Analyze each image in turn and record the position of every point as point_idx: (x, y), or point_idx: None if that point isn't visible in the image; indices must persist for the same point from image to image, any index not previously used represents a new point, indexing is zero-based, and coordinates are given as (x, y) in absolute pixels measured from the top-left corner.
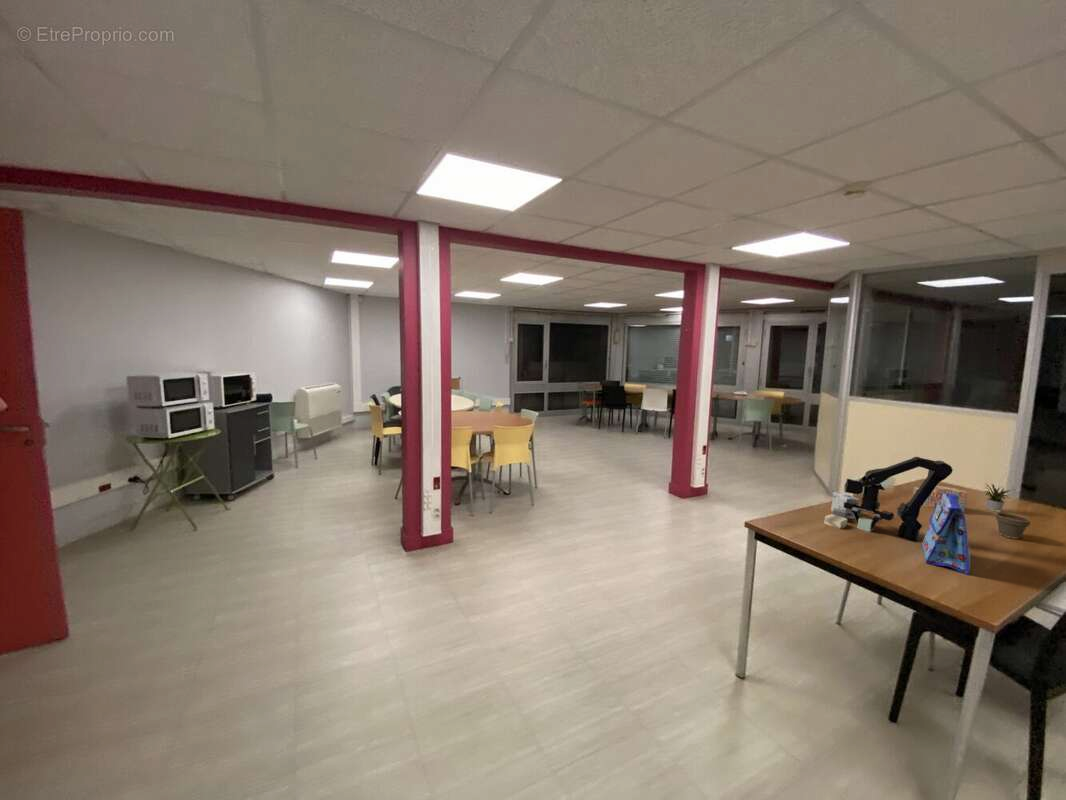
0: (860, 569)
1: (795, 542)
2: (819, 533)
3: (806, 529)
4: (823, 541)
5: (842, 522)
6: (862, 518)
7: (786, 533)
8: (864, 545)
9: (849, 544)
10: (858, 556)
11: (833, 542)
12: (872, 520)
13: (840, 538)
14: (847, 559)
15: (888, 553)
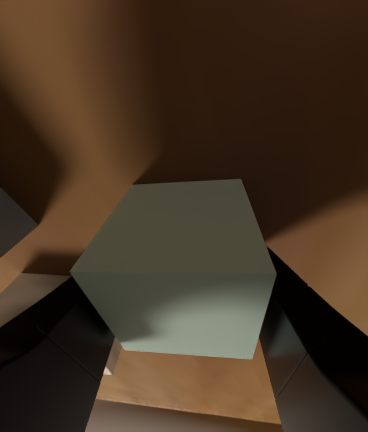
0: (276, 423)
1: (153, 406)
2: (137, 374)
3: None
4: (175, 393)
5: (110, 353)
6: (138, 330)
7: (114, 395)
8: (259, 374)
9: (223, 384)
10: (261, 406)
11: (191, 389)
12: (251, 313)
13: (187, 372)
14: (247, 414)
15: None
